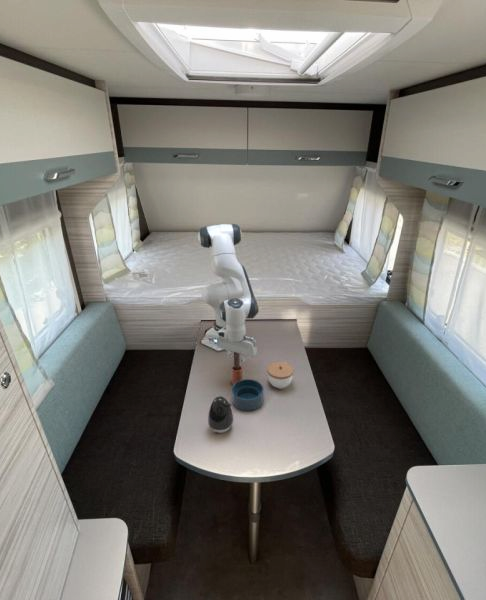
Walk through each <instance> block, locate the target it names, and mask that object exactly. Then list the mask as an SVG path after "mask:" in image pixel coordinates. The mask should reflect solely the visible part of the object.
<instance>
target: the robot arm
mask: <svg viewBox="0 0 486 600" xmlns="http://www.w3.org/2000/svg"><path fill="white" fill-rule="evenodd" d="M242 237H243V234H242V229H241V226H239V224H235V223H231V224H229V223H228V224H227V223H221V224H214V225H209V226H202V227H200V228H199V230H198V233H197V239H198V242H199V244H200V246H202V247H203V248H206V249H210V251H209V253H210V263H211V271H212V274H214V276H217V277H218V278H221V279H222V282H217V283H211V284H210V285H207V286H205V287H203V289H202V291H201V298H202V300H203V302H204V303H205V304H206V305H209V306H211V307H212V309H213V310H214V315H215V321H214V322H213V323H212V324H211V326H210V327H208V328H206V329H205V330H204V334H205V335H204V337H203V338H202V339H201V344H202V345H204V346H206V347H209V348H210V349H213V350H215V351H217V352H222V351H225V352H226V354H227V358H230V359H231V358H233V357H234V352H236V353H240V355H242V357H240V362H242V363H243V362H244V363H245V361H246V357H250V358H254V357H255V356H256V355H257V353H258V348H257V341H256V339H254V337H250V336H248V335H247V329H246V324H245V323H246V319H254V318H255V317H256V316H257V315H258V314H259V305H258V302H257V299H256V296H255V294H254V290H253V288H252V285H251V282H250V279H249V276H248V272H247V270H246V268H245V266H244V265H243V264H241V263H240V262H239V260H238V259H237V254H236V249H235V246H236V245H238V244H240V243H241V241H242ZM242 297H243V298H242Z"/></svg>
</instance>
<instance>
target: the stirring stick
mask: <svg viewBox="0 0 486 600" xmlns="http://www.w3.org/2000/svg"><path fill="white" fill-rule="evenodd" d="M240 355H241V354H240V353H236V352H233V366H234V370H240V365H241V356H240Z"/></svg>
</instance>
